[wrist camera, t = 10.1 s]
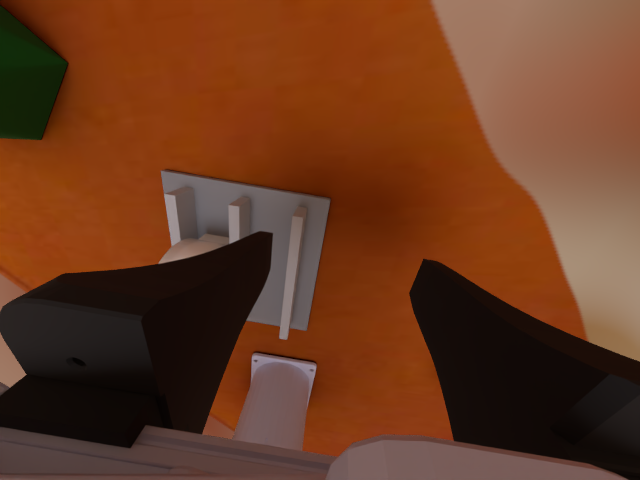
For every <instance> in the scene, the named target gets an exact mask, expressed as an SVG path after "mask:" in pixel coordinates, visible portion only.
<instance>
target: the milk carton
mask: <svg viewBox="0 0 640 480" xmlns="http://www.w3.org/2000/svg"><path fill="white" fill-rule="evenodd" d="M67 64H68V63H67V62H66V61H65V60H63V59H62V58H61V57H60V56H59V55H58V54H56V53H55V52H54V51H53V50H52V49H51V48H49V47H48V46H47V45H46V44H45V43H44V42H42V41H41V40H40V39H39V38H38V37H37V36H36V35H34V34H33V33H32V32H31V31H30V30H29V29H27V28H26V27H25V26H24V25H23V24H22V23H20V22H19V21H18V20H17V19H16V18H15V17H13V16H12V15H11V14H10V13H9V12H8V11H7V10H5V9H4V8H3V7H2V6H1V5H0V138H8V139H30V140H41V138H42V135H43V132H44V130H45V127H46V124H47V121H48V118H49V115H50V113H51V110H52V107H53V104H54V101H55V98H56V96H57V93H58V90H59V87H60V84H61V81H62V79H63V76H64V73H65V70H66V67H67Z"/></svg>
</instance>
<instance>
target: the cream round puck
mask: <svg viewBox="0 0 640 480" xmlns="http://www.w3.org/2000/svg"><path fill="white" fill-rule="evenodd" d="M228 244H229V238H228V237H222V236H216V235H211V234H204V235H203V236H202V237H201V238H199V239H193V238H188V239H184V240H182V241H180V242H178V243H176V244H175V245H174V246H172V247H171V248H170V249H169V250H168V251H167V252H166V254H165V255H164V256H163V257H162V259H161V260H160V262H159V263H158V264H161V263H165V262H170V261H175V260H180V259H185V258H189V257H192V256H196V255H199V254H203V253H206V252H209V251H212V250H215V249H217V248H220V247H222V246H225V245H228Z"/></svg>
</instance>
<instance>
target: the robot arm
mask: <svg viewBox="0 0 640 480" xmlns="http://www.w3.org/2000/svg"><path fill="white" fill-rule="evenodd" d="M272 242H273V233H270V232H264V231H258V232H256V233H253V234H251V235H249V236H246V237H244V238H242V239H240V240H237V241H235V242H233V243H230V244H228V245H225V246H222V247H220V248H217V249H215V250H212V251H209V252H206V253H203V254H199V255H196V256H192V257H189V258H185V259H180V260H175V261H170V262H165V263H161V264H155V265H149V266H142V267H135V268H127V269H118V270H107V271H94V272H81V273H65V274H62V275H60V276H58V277H56V278H54V279H52V280H51V281H49V282H47V283H45V284H43V285H41V286H39V287H37V288H35V289H33V290H31V291H29V292H28V293H26V294H24V295H22V296H20V297H18V298H16V299H14V300H12V301H11V302H9V303H7V304H6V305H5V306H3V308H2V310H1V311H0V332H1V335H2V337H3V339H4V341H5V342H6V344H7V345H8V347H9V348H10V350H11V351H12V353H13V354H14V356H15V357H16V359H17V361H18V362H19V364H20V365H21V366H22V368H23V370H24V371H25V373H26V374H27V375H26V376H25V377H23V378H22V379H21V380H19V381H18V382H17V383H16V384H14V385H13V386H12V387H11V388H9V387H8V386H6V385H5V384H3V383H1V382H0V480H640V362H639V361H636V360H634V359H630V358H628V357H625V356H623V355H620V354H618V353H615V352H612V351H610V350H607V349H605V348H602V347H600V346H597V345H594V344H592V343H590V342H587V341H585V340H582V339H580V338H578V337H575V336H573V335H571V334H568V333H566V332H564V331H562V330H560V329H557V328H555V327H553V326H551V325H548V324H546V323H544V322H542V321H540V320H538V319H536V318H534V317H532V316H530V315H528V314H526V313H524V312H522V311H520V310H518V309H517V308H515V307H513V306H511V305H509V304H507V303H506V302H504V301H502V300H500V299H499V298H497V297H495V296H494V295H492V294H490V293H488V292H487V291H485V290H484V289H482V288H480V287H479V286H477V285H476V284H474V283H472V282H471V281H469V280H468V279H466V278H465V277H463V276H461V275H460V274H458V273H457V272H455V271H454V270H452V269H450V268H449V267H447V266H445V265H443V264H442V263H439V262H437V261H433V260H427V259H423V261H422V264H421V266H420V269H419V271H418V273H417V276H416V278H415V281H414V283H413V285H412V288H411V290H410V293H409V294H410V299H411V303H412V307H413V311H414V314H415V317H416V319H417V322H418V324H419V327H420V329H421V332H422V334H423V337H424V339H425V342H426V344H427V346H428V349H429V351H430V354H431V356H432V359H433V362H434V365H435V368H436V371H437V375H438V378H439V382H440V385H441V389H442V393H443V396H444V400H445V404H446V408H447V412H448V416H449V421H450V425H451V430H452V434H453V439H454V441H450V440H444V439H438V438H432V437H426V436H417V435H380V436H376V437H373V438H369V439H366V440H362V441H358V442H355V443H352V444H351V445H350V446H349V447H348V448H347V449H346V450H345V451H344V452H343V453H342V454H341V455H339V456H338V457H335V456H329V455H323V454H317V453H311V452H305V451H302V448H303V439H304V429H305V420H306V411H307V407H308V402H309V398H310V394H311V389H312V385H313V381H314V376H315V372H316V367H317V365H316V363H314V362H308V361H302V360H296V359H290V358H284V357H278V356H272V355H266V354H260V353H254V354H253V355H252V367H251V385H250V388H249V391H248V394H247V397H246V400H245V403H244V406H243V409H242V412H241V415H240V418H239V421H238V424H237V426H236V429H235V432H234V435H233V438H232V439H226V438H220V437H214V436H208V435H202V432H203V429H204V427H205V424H206V421H207V418H208V415H209V412H210V410H211V407H212V404H213V401H214V399H215V396H216V393H217V390H218V388H219V385H220V382H221V380H222V377H223V374H224V372H225V369H226V367H227V364H228V361H229V359H230V356H231V354H232V351H233V349H234V346H235V344H236V341H237V339H238V337H239V334H240V332H241V330H242V328H243V326H244V324H245V322H246V320H247V318H248V316H249V314H250V312H251V311H252V309H253V307H254V305H255V303H256V301H257V299H258V297H259V296H260V294H261V292H262V290H263V288H264V286H265V283H266V281H267V278H268V275H269V272H270V269H271V256H272Z"/></svg>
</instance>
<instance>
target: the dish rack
mask: <svg viewBox="0 0 640 480" xmlns="http://www.w3.org/2000/svg"><path fill="white" fill-rule="evenodd" d="M161 176H162V183H163V189H164V196H165V203H166V210H167V216H168V223H169V230H170V237H171V243H172V246H174V245H175V244H176V243H178V242H180V241H182V240H184V239H188V238H193V239H199V238H201V237H202V236H203V235H204V234H211V235H216V236H222V237H228V238H229V244H230V243H233V242H235V241H237V240H240V239H242V238H244V237H246V236H249V235H251V234H253V233H256V232H258V231H264V232H270V233H273V242H272V256H271V269H270V272H269V275H268V278H267V281H266V283H265V286H264V288H263V290H262V292H261V294H260V296H259V297H258V299H257V301H256V303H255V305H254V307H253V309H252V311H251V312H250V314H249V316H248V318H247V320H246V321H252V322H258V323H264V324H270V325H275V326H280V335H279V338H280V339H286V340H287V338H288V334H289V330H290V328H293V329H299V330H305V331H307V326H308V320H309V315H310V309H311V304H312V298H313V293H314V288H315V282H316V277H317V271H318V266H319V260H320V255H321V249H322V244H323V238H324V233H325V227H326V222H327V216H328V211H329V205H330V199H331V198H327V197H321V196H315V195H310V194H304V193H298V192H292V191H286V190H281V189H275V188H269V187H263V186H258V185H252V184H246V183H240V182H235V181H229V180H223V179H217V178H211V177H206V176H200V175H194V174H188V173H183V172H177V171H171V170H162V171H161Z"/></svg>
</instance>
